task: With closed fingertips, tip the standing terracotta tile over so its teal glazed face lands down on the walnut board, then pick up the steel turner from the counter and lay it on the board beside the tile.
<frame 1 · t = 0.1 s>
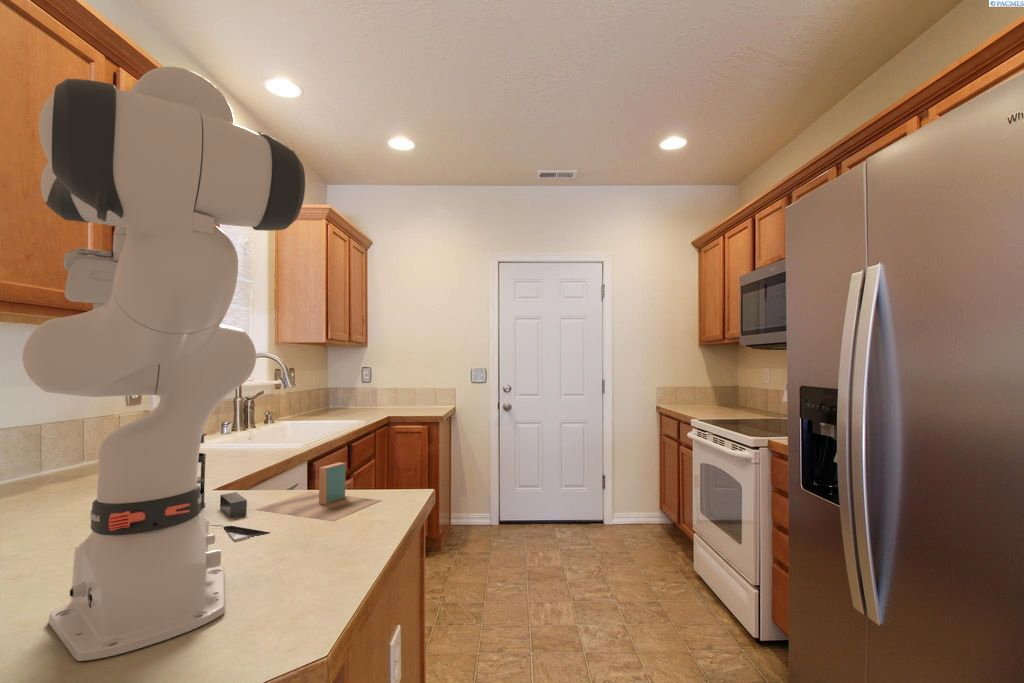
hand: (140, 331, 82), 39 cm above the counter, tool pointing down, fingers open, 8 cm apart
board: (320, 511, 100), on the counter
tile: (332, 500, 103), point 1 cm above the counter, touching board
turner: (239, 524, 92), on the counter
french press: (179, 509, 103), on the counter
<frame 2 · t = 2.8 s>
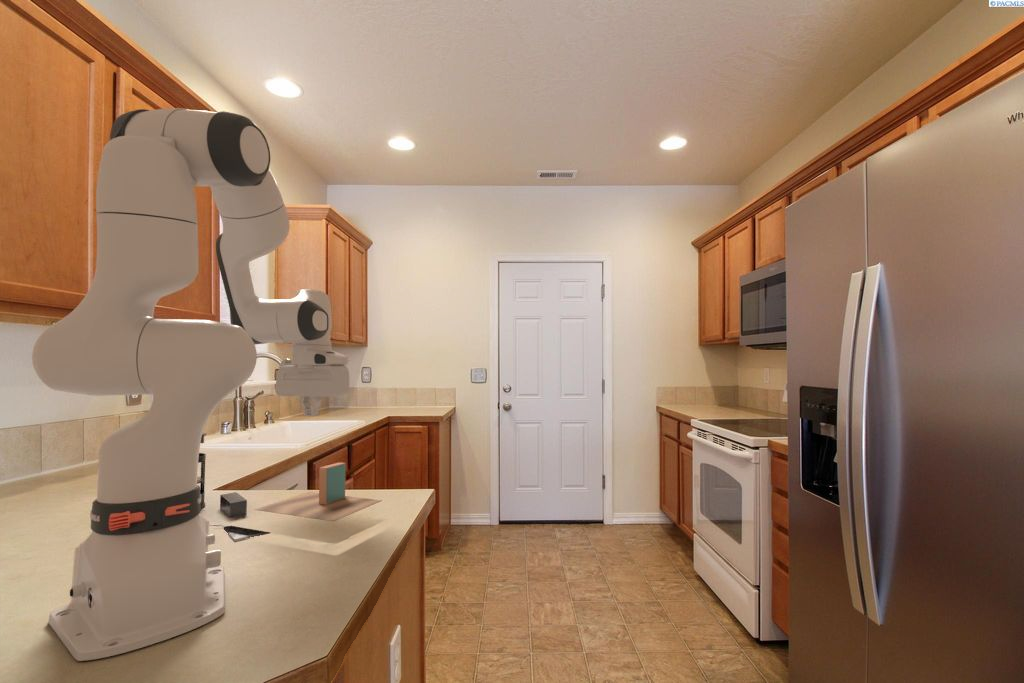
hand: (310, 415, 107), 21 cm above the counter, tool pointing down, fingers closed
nothing on the counter moved.
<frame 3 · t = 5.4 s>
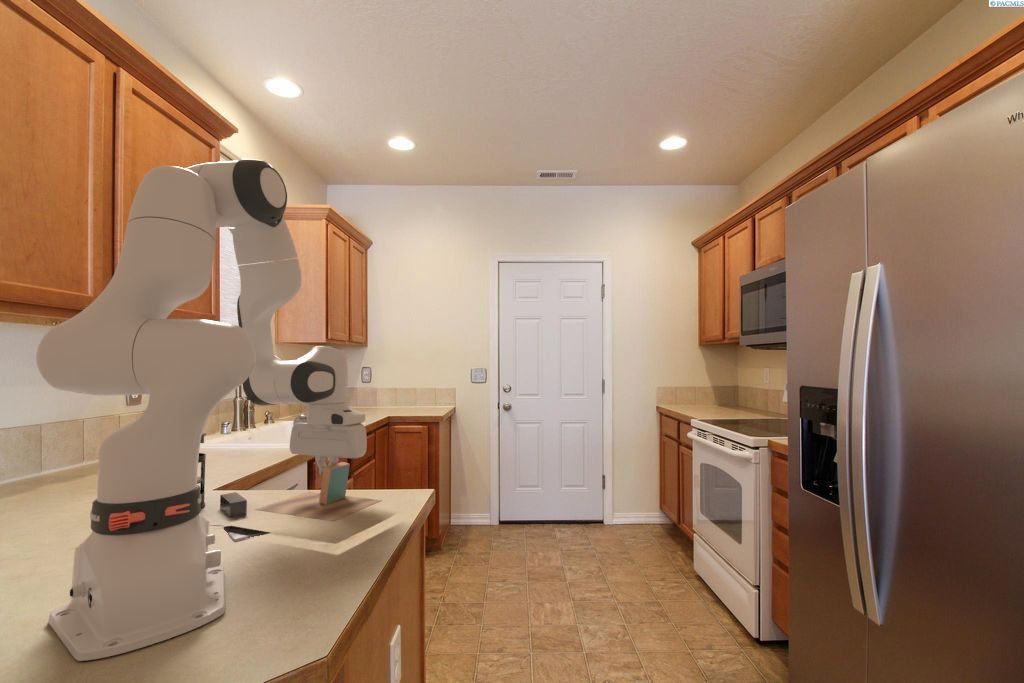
hand: (326, 475, 104), 7 cm above the counter, tool pointing down, fingers closed
tile: (332, 499, 103), point 2 cm above the counter, tilted 9°, touching board
everything else where it was.
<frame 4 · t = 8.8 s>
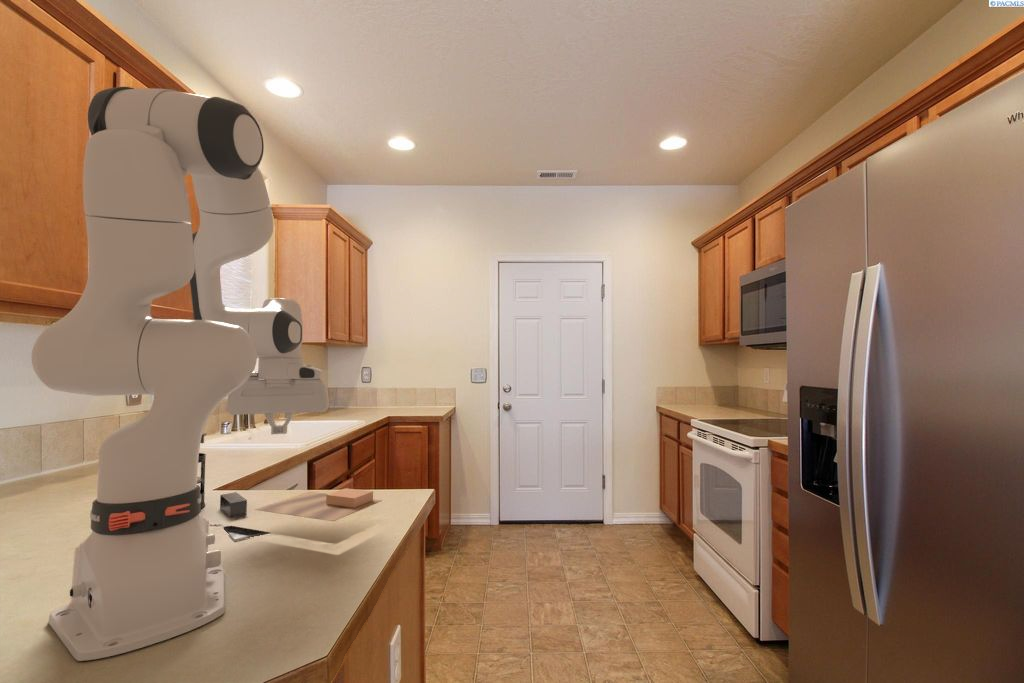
hand: (279, 433, 100), 17 cm above the counter, tool pointing down, fingers closed
tile: (336, 495, 103), point 3 cm above the counter, tilted 90°, touching board
everything else where it was.
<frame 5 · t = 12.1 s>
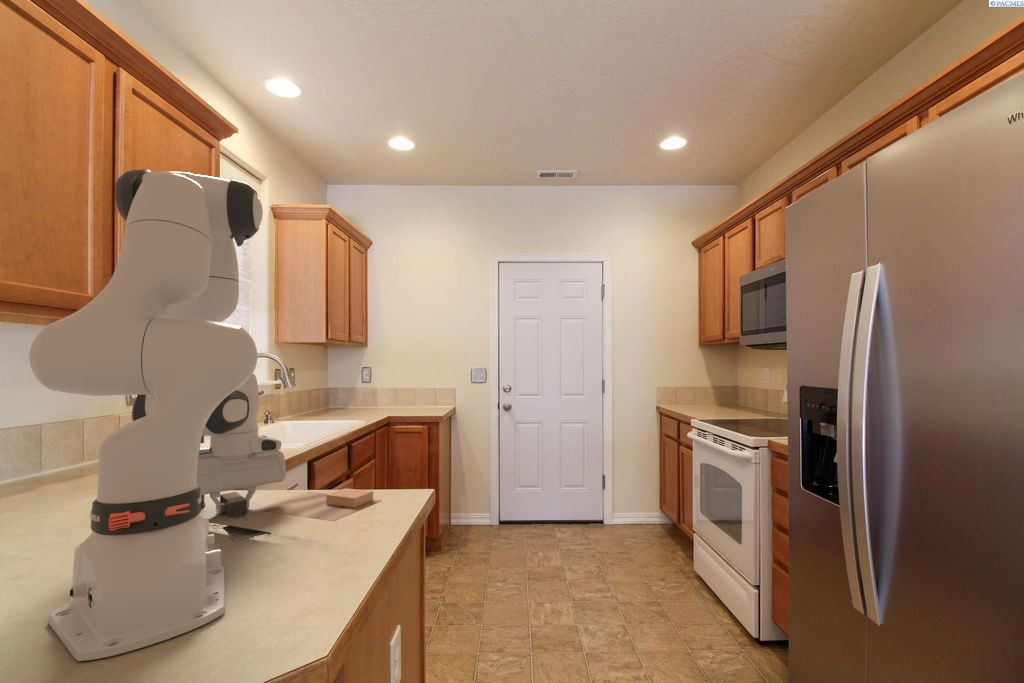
hand: (232, 510, 96), 2 cm above the counter, tool pointing down, fingers closed on turner, 3 cm apart
turner: (239, 524, 92), on the counter, touching gripper
everything else where it was.
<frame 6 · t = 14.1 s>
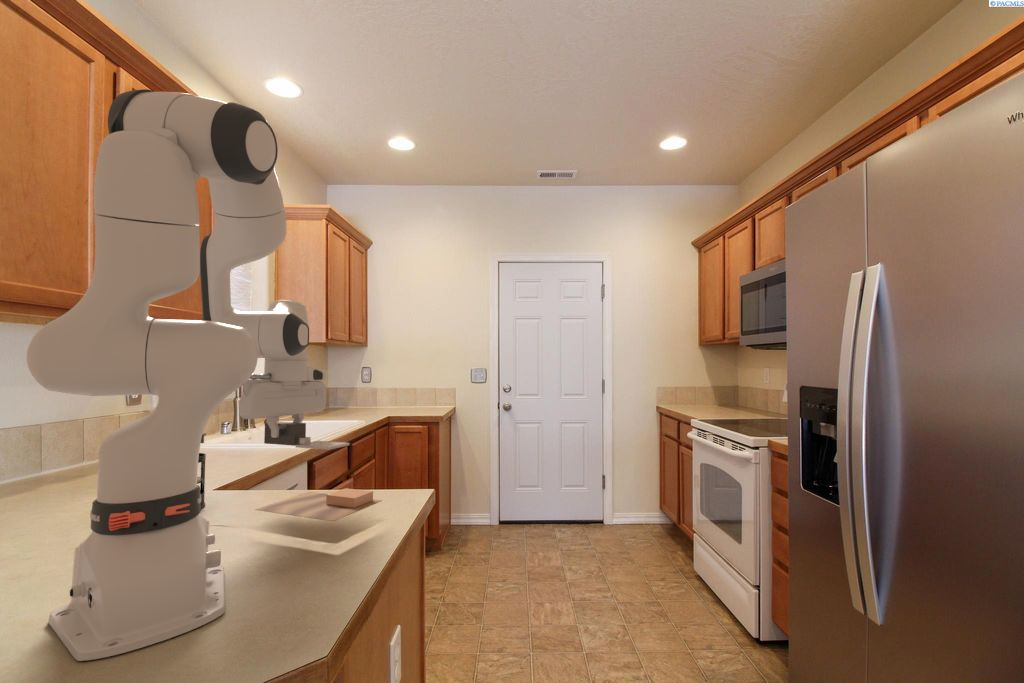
hand: (285, 435, 100), 17 cm above the counter, tool pointing down, fingers closed on turner, 3 cm apart
turner: (303, 444, 98), point 15 cm above the counter, touching gripper
everything else where it was.
when the fingers open (5 cm above the counter, at t = 16.6 s): turner drops 1 cm, resting on board.
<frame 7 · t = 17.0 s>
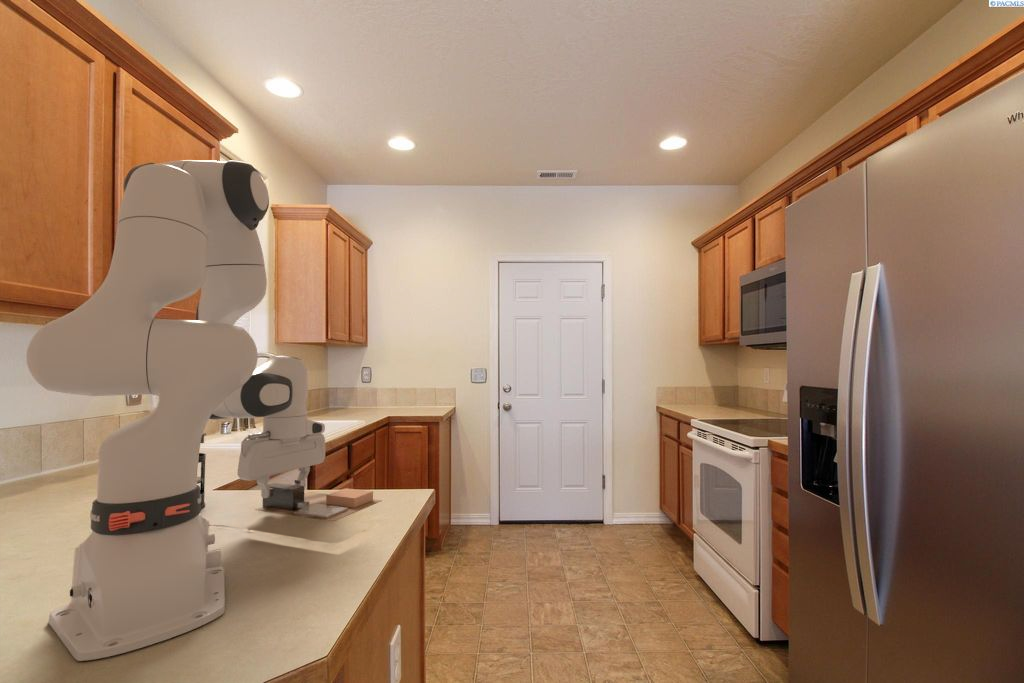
hand: (284, 492, 99), 5 cm above the counter, tool pointing down, fingers open, 7 cm apart
turner: (301, 509, 97), point 1 cm above the counter, touching board
everything else where it was.
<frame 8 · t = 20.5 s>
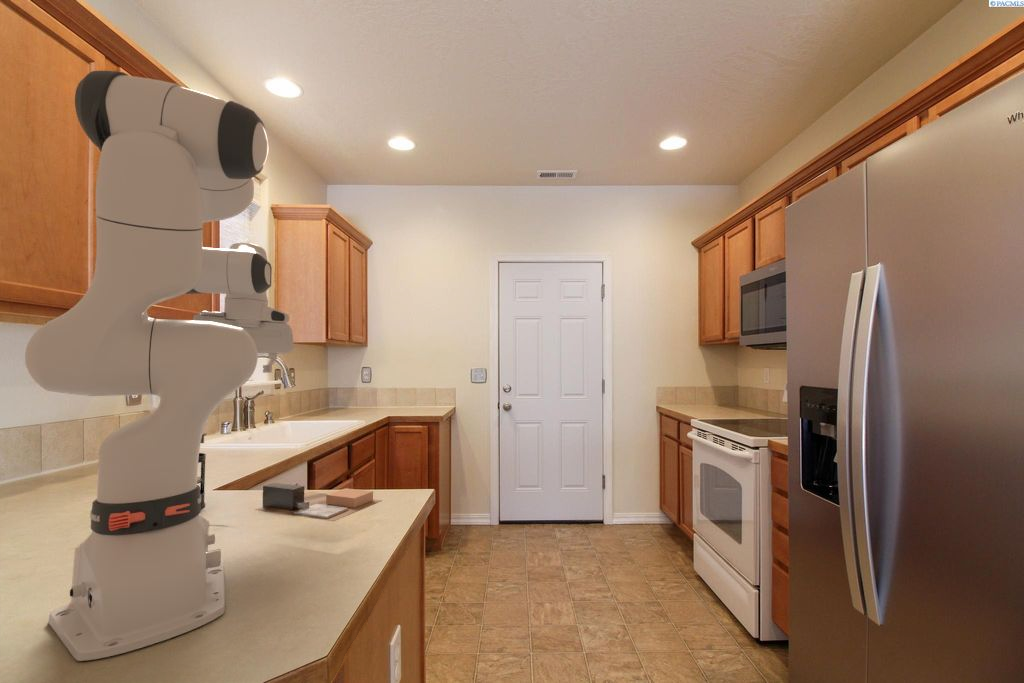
hand: (245, 372, 104), 31 cm above the counter, tool pointing down, fingers open, 8 cm apart
nothing on the counter moved.
at the end: tile tilted 90°; tile inside the target area (0.6 cm from its centre), point 2.6 cm above the counter; turner inside the target area (0.1 cm from its centre), point 1.5 cm above the counter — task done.
